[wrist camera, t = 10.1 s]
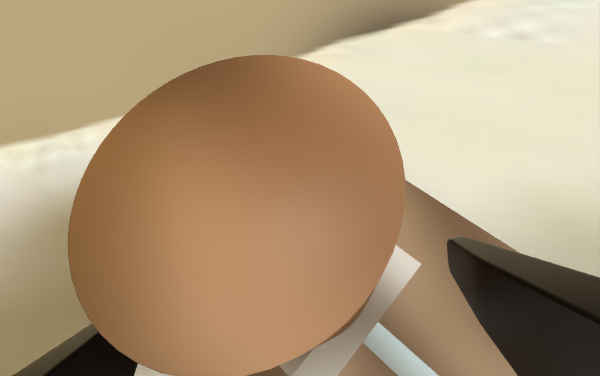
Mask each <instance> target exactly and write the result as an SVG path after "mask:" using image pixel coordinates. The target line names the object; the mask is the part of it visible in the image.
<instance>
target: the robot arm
mask: <svg viewBox="0 0 600 376" xmlns="http://www.w3.org/2000/svg"><path fill="white" fill-rule="evenodd" d="M447 255H448V266H449V270H450V272H451V274H452V276H453V278H454V280H455V281H456V283H457V285H458V287H459V288H460V290H461V292H462V294H463V295H464V297H465V299H466V301H467V302H468V304H469V306H470V307H471V309H472V311H473V313H474V314H475V316H476V318H477V319H478V321H479V323H480V324H481V326H482V327H483V328H484V330H485V331H486V333H487V334H488V336H489V337H490V338H491V340H492V341H493V342H494V344H495V345H496V347H497V348H498V349H499V351H500V352H501V353H502V355H503V356H504V358H505V359H506V360H507V362H508V363H509V364H510V366H511V367H512V369H513V370H514V371H515V373H516V374H517V375H518V376H600V278H599V277H596V276H593V275H589V274H586V273H583V272H579V271H576V270H573V269H570V268H566V267H563V266H560V265H556V264H553V263H550V262H547V261H543V260H540V259H537V258H533V257H530V256H527V255H524V254H520V253H517V252H514V251H510V250H507V249H504V248H501V247H497V246H494V245H491V244H487V243H484V242H481V241H478V240H474V239H471V238H468V237H464V236H460V237H455V238H450V239H448V241H447ZM137 364H138V363H137V362H135V361H134V360H132V359H130V358H129V357H127V356H126V355H124V354H123V353H121V352H120V351H118V350H117V349H116V348H115V347H114V346H113V345H112V344H110V343H109V342H108V341H107V340H106V339H105V338H104V337H103V336H102V335H101V334H100V333H99V331H98V330H97V329H96V327H95V326H94V325H93V323H92V324H91V325H89V326H88V327H86V328H85V329H83V330H82V331H80V332H79V333H77V334H76V335H74V336H73V337H71V338H69V339H68V340H66V341H65V342H63V343H62V344H60V345H59V346H57V347H56V348H54V349H53V350H51V351H50V352H48V353H47V354H45V355H44V356H42V357H40V358H39V359H37V360H36V361H34V362H33V363H31V364H30V365H28V366H27V367H25V368H24V369H22V370H21V371H19V372H18V373H16V374H15V375H13V376H134V374H135V371H136V367H137Z"/></svg>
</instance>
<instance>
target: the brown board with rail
mask: <svg viewBox="0 0 600 376" xmlns="http://www.w3.org/2000/svg"><path fill="white" fill-rule="evenodd" d="M460 236H464V237H468V238H471V239H474V240H478V241H481V242H484V243H487V244H491V245H494V246H497V247H501V248H504V249H507V250H510V251H514V252H517V251H516V250H514V249H512V248H511V247H509V246H508V245H506V244H505V243H503V242H501V241H500V240H498V239H497V238H495V237H494V236H492V235H490V234H489V233H487V232H486V231H484V230H483V229H481V228H480V227H478V226H476V225H475V224H473V223H472V222H470V221H469V220H467V219H465V218H464V217H462V216H461V215H459V214H458V213H456V212H454V211H453V210H451V209H450V208H448V207H447V206H445V205H444V204H442V203H440V202H439V201H437V200H436V199H434V198H433V197H431V196H429V195H428V194H426V193H425V192H423V191H422V190H420V189H419V188H417V187H415V186H414V185H412V184H411V183H409V182H408V181H406V180H405V207H404V213H403V219H402V225H401V229H400V233H399V236H398V239H397V242H396V245H395V248H394V252H393V254H392V256H391V258H390V260H389V262H388V264H387V266H386V268H385V270H384V272H383V275H382V277H381V278H380V280H379V282H378V284H377V286H376V287H375V289H374V291H373V293H372V295H371V297H370V298H369V300H368V302H367V304H366V306H365V307H364V309H363V311H362V313H361V314H360V316H359V317H358V319H357V320H356V321H355V322H354V323H353V324H352V325H351V326H350V327H349V328H348V329H347V330H346V331H344V332H343V333H341V334H340V335H338V336H337V337H335V338H333V339H331V340H329V341H327V342H325V343H323V344H321V345H319V346H318V347H316V348H314V349H312V350H310V351H308V352H306V353H304V354H302V355H301V356H299V357H297V358H294V359H292V360H290V361H288V362H285V363H283V364H281V365H278V366H276V367H274V368H272V369H269V370H265V371H261V372H258V373H254V374H250V375H246V376H518V375H517V374H516V373H515V371H514V370H513V369H512V367H511V366H510V364H509V363H508V362H507V360H506V359H505V358H504V356H503V355H502V353H501V352H500V351H499V349H498V348H497V347H496V345H495V344H494V342H493V341H492V340H491V338H490V337H489V336H488V334H487V333H486V331H485V330H484V328H483V327H482V326H481V324H480V323H479V321H478V319H477V318H476V316H475V314H474V313H473V311H472V309H471V307H470V306H469V304H468V302H467V301H466V299H465V297H464V295H463V294H462V292H461V290H460V288H459V287H458V285H457V283H456V281H455V280H454V278H453V276H452V274H451V272H450V270H449V266H448V255H447V241H448V239H450V238H455V237H460ZM517 253H519V252H517Z"/></svg>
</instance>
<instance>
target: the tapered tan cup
mask: <svg viewBox="0 0 600 376" xmlns="http://www.w3.org/2000/svg"><path fill="white" fill-rule="evenodd" d="M404 207H405V175H404V168H403V161H402V157H401V153H400V150H399V147H398V143H397V140H396V138H395V136H394V134H393V132H392V129H391V127H390V125H389V123H388V121H387V120H386V118H385V117H384V115H383V114H382V112H381V111H380V109H379V108H378V106H377V105H376V104H375V103H374V102H373V101H372V100H371V99H370V98H369V97H368V95H367V94H366V93H365V92H364V91H362V90H361V89H360V88H359V87H357V86H356V85H355V84H354V83H353V82H351V81H350V80H348V79H347V78H345V77H343V76H342V75H340V74H339V73H337V72H335V71H333V70H331V69H328V68H326V67H324V66H322V65H319V64H316V63H313V62H310V61H306V60H303V59H298V58H292V57H287V56H275V55H253V56H244V57H235V58H231V59H226V60H222V61H218V62H214V63H211V64H208V65H205V66H202V67H199V68H197V69H194V70H192V71H189V72H187V73H185V74H183V75H181V76H179V77H177V78H175V79H173V80H171V81H169V82H168V83H166V84H164V85H163V86H162V87H160V88H158V89H157V90H155V91H154V92H152V93H151V94H150V95H148V96H147V97H146V98H145V99H143V100H142V101H140V102H139V103H138V104H137V105H136V106H135V107H134V108H132V109H131V110H130V111H129V112H128V113H127V114H126V115H125V116H124V117H123V118H122V119H121V120H120V121H119V122H118V123H117V125H116V126H115V127H114V128H113V129H112V130H111V132H110V133H109V134H108V135H107V137H106V138H105V139H104V141H103V142H102V143H101V145H100V146H99V148H98V150H97V151H96V153H95V154H94V156H93V158H92V159H91V161H90V163H89V165H88V167H87V169H86V171H85V173H84V175H83V177H82V179H81V182H80V185H79V188H78V190H77V193H76V196H75V199H74V204H73V208H72V212H71V216H70V224H69V233H68V258H69V264H70V271H71V277H72V281H73V284H74V287H75V290H76V293H77V296H78V299H79V301H80V303H81V305H82V307H83V309H84V311H85V313H86V314H87V316H88V318H89V319H90V321H91V322H92V323H93V325H94V326H95V327H96V329H97V330H98V331H99V333H100V334H101V335H102V336H103V337H104V338H105V339H106V340H107V341H108V342H109V343H110V344H112V345H113V346H114V347H115V348H116V349H117V350H118V351H120V352H121V353H123V354H124V355H126V356H127V357H129V358H130V359H132V360H134V361H135V362H137V363H139V364H141V365H143V366H146V367H148V368H150V369H153V370H155V371H158V372H160V373H164V374H169V375H173V376H246V375H250V374H254V373H258V372H261V371H265V370H269V369H272V368H274V367H276V366H278V365H281V364H283V363H285V362H288V361H290V360H292V359H294V358H297V357H299V356H301V355H302V354H304V353H306V352H308V351H310V350H312V349H314V348H316V347H318V346H319V345H321V344H323V343H325V342H327V341H329V340H331V339H333V338H335V337H337V336H338V335H340V334H341V333H343V332H344V331H346V330H347V329H348V328H349V327H350V326H351V325H352V324H353V323H354V322H355V321H356V320H357V319H358V317H359V316H360V314H361V313H362V311H363V309H364V307H365V306H366V304H367V302H368V300H369V298H370V297H371V295H372V293H373V291H374V289H375V287H376V286H377V284H378V282H379V280H380V278H381V277H382V275H383V272H384V270H385V268H386V266H387V264H388V262H389V260H390V258H391V256H392V254H393V252H394V248H395V245H396V242H397V239H398V236H399V233H400V229H401V225H402V219H403V213H404Z"/></svg>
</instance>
